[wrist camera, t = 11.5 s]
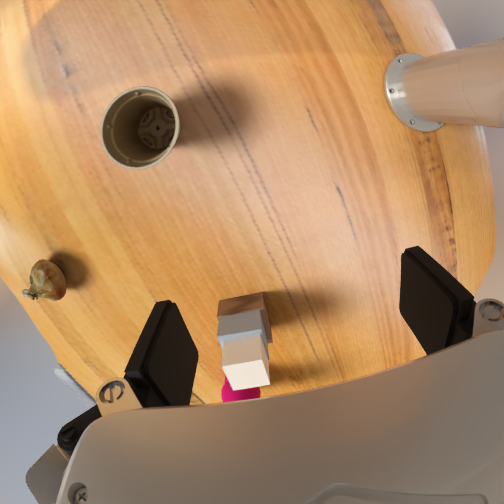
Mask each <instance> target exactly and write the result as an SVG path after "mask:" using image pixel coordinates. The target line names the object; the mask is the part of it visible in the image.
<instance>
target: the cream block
mask: <svg viewBox="0 0 504 504" xmlns="http://www.w3.org/2000/svg"><path fill="white" fill-rule="evenodd" d="M222 368H223V370H224V372H225V374H226V376H227V378H228V381H229V383H230V385H231V387H232V389H233V391H234V390H241V389H247V388H253V387H259V386H264V385H270V376H269V366H268V358H267V354H266V351H265V348H264V345H263V342H262V338H261V335H260V334H255V335H250V336H245V337H240V338H235V339H229V340H224V345H223V358H222Z"/></svg>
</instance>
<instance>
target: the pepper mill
mask: <svg viewBox="0 0 504 504" xmlns="http://www.w3.org/2000/svg"><path fill="white" fill-rule="evenodd" d="M256 398H260V388H259V387H253V388H247V389H241V390H234V391H233V389H232V387H231V385H230V383H229V381H228V378H227V376H226V375H225V385H224V386H223V387H222V400H223V402H232V401H241V400H248V399H256Z"/></svg>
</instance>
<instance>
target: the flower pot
mask: <svg viewBox="0 0 504 504" xmlns="http://www.w3.org/2000/svg"><path fill="white" fill-rule="evenodd" d="M166 112H170V113H171V114H172V115H173V118H170V117H169V116H168V115H167V114H166ZM148 114H149V115H150V117H149V118H147V120H146V121H145V122H143V121H144V119H145V117H146V116H147V115H148ZM157 127H159V129H158V130H157ZM180 130H181V123H180V119H179V114H178V111H177V109H176V106H175V104H174V103H173V101H172V100H171V99H170V97H169V96H167V95H166V94H165V93H164V92H162V91H160V90H159V89H156V88H153V87H147V86H139V87H134V88H131V89H128V90H126V91H124V92H122V93H121V94H119V95H118V96H117V97H116V98H115V99H114V100H113V101H112V102H111V103H110V105H109V106H108V108H107V109H106V111H105V113H104V115H103V118H102V121H101V128H100V137H101V142H102V146H103V148H104V151H105V152H106V154H107V155H108V157H109V158H110V159H111V160H112V161H113V162H115V163H116V164H117V165H119V166H121V167H123V168H126V169H131V170H143V169H147V168H150V167H153V166H155V165H156V164H158V163H160V162H161V161H162V160H163V159H165V158H166V157H167V156H168V154H169V153H170V152H171V150H172V149H173V147H174V145H175V143H176V141H177V138H178V137H179V134H180ZM172 135H174V137H173V138H172V140H171V141H169V142H168V140H169V139H170V137H172ZM145 139H146V140H147V141H149V142H150V143H151V145H148V144H147V143H145Z"/></svg>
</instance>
